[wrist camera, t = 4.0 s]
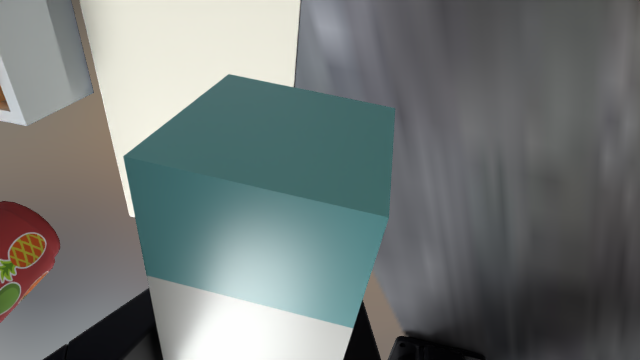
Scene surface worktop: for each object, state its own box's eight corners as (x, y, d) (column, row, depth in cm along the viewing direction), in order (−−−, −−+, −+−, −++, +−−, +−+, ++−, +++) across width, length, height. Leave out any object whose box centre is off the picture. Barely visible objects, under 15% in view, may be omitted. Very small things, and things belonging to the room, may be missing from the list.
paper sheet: (281, 248, 25) (281, 250, 25) (131, 214, 26) (129, 216, 26) (302, -15, 16) (301, -15, 16) (70, -51, 17) (67, -51, 17)
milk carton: (324, 364, 13) (302, 486, 10) (229, 338, 14) (181, 450, 11) (395, 108, 8) (389, 218, 5) (228, 73, 8) (122, 156, 5)
